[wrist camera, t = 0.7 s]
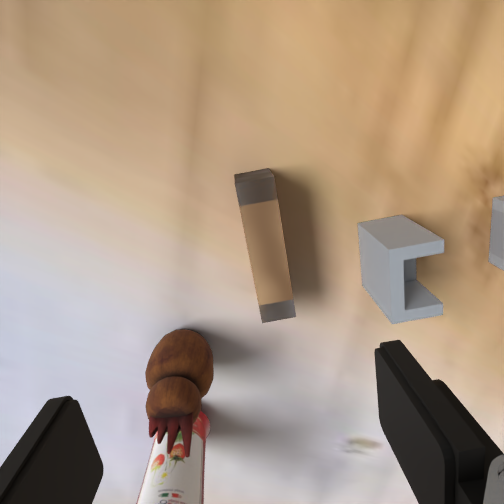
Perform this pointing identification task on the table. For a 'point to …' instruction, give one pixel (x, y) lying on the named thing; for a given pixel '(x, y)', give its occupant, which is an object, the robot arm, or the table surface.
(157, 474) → the liquor
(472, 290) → the table surface
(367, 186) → the table surface
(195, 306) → the table surface
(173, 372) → the wooden figurine
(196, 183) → the table surface
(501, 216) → the post
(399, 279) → the post
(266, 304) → the rail
